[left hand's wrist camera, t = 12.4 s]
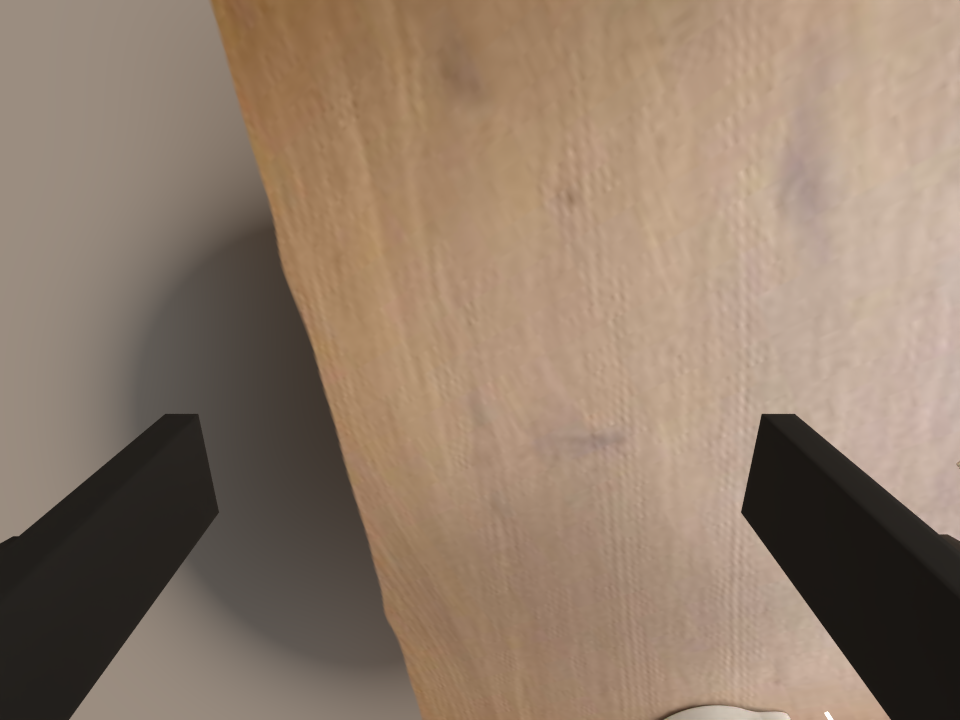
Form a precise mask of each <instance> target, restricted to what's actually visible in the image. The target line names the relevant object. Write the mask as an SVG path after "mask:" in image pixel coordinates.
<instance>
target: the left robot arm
mask: <svg viewBox="0 0 960 720" xmlns="http://www.w3.org/2000/svg"><path fill="white" fill-rule="evenodd" d="M218 513H219V511H218V506H217V501H216V496H215V492H214V487H213V482H212V477H211V473H210V468H209V463H208V458H207V454H206V449H205V444H204V439H203V435H202V430H201V425H200V420H199V415H198V414H165V415H164V416H162V417H161V418H160V419H159V420H158V421H156V422H155V423H154V424H153V425H152V426H150V427H149V428H148V429H147V430H146V431H144V432H143V433H142V434H141V435H140V436H138V437H137V438H136V439H135V440H134V441H132V442H131V443H130V444H129V445H128V446H126V447H125V448H124V449H123V450H122V451H120V452H119V453H118V454H117V455H116V456H114V457H113V458H112V459H111V460H110V461H109V462H107V463H106V464H105V465H104V466H102V467H101V468H100V469H99V470H98V471H97V472H95V473H94V474H93V475H92V476H91V477H89V478H88V479H87V480H86V481H85V482H83V483H82V484H81V485H80V486H79V487H77V488H76V489H75V490H74V491H73V492H71V493H70V494H69V495H68V496H67V497H65V498H64V499H63V500H62V501H61V502H59V503H58V504H57V505H56V506H55V507H53V508H52V509H51V510H50V511H49V512H47V513H46V514H45V515H44V516H43V517H41V518H40V519H39V520H38V521H37V522H35V523H34V524H33V525H32V526H31V527H29V528H28V529H27V530H26V531H25V532H23V533H22V534H21V535H20V536H13V537H11V538H9V539H8V540H6V541H4V542H2V543H0V720H69V719H70V717H71V716H72V715H73V713H74V712H75V711H76V709H77V708H78V706H79V705H80V704H81V702H82V701H83V700H84V698H85V697H86V695H87V694H88V693H89V691H90V690H91V689H92V687H93V686H94V684H95V683H96V682H97V680H98V679H99V677H100V676H101V675H102V673H103V672H104V671H105V669H106V668H107V666H108V665H109V664H110V662H111V661H112V659H113V658H114V657H115V655H116V654H117V653H118V651H119V650H120V648H121V647H122V646H123V644H124V643H125V641H126V640H127V639H128V637H129V636H130V635H131V633H132V632H133V630H134V629H135V628H136V626H137V625H138V624H139V622H140V621H141V619H142V618H143V617H144V615H145V614H146V612H147V611H148V610H149V608H150V607H151V605H152V604H153V603H154V601H155V600H156V599H157V597H158V596H159V594H160V593H161V592H162V590H163V589H164V588H165V586H166V585H167V583H168V582H169V581H170V579H171V578H172V576H173V575H174V574H175V572H176V571H177V570H178V568H179V567H180V565H181V564H182V563H183V561H184V560H185V559H186V557H187V556H188V554H189V553H190V552H191V550H192V549H193V547H194V546H195V545H196V543H197V542H198V541H199V539H200V538H201V536H202V535H203V534H204V532H205V531H206V529H207V528H208V527H209V525H210V524H211V522H212V521H213V520H214V518H215V517H216V516H217V514H218ZM741 513H742V514H743V516H744V517H745V518H746V520H747V521H748V523H749V524H750V525H751V527H752V528H753V529H754V531H755V532H756V534H757V535H758V536H759V538H760V539H761V541H762V542H763V543H764V545H765V546H766V547H767V549H768V550H769V552H770V553H771V554H772V556H773V557H774V559H775V560H776V561H777V563H778V564H779V565H780V567H781V568H782V570H783V571H784V572H785V574H786V575H787V576H788V578H789V579H790V581H791V582H792V583H793V585H794V586H795V588H796V589H797V590H798V592H799V593H800V594H801V596H802V597H803V599H804V600H805V601H806V603H807V604H808V606H809V607H810V608H811V610H812V611H813V612H814V614H815V615H816V617H817V618H818V619H819V621H820V622H821V624H822V625H823V626H824V628H825V629H826V630H827V632H828V633H829V635H830V636H831V637H832V639H833V640H834V641H835V643H836V644H837V646H838V647H839V648H840V650H841V651H842V653H843V654H844V655H845V657H846V658H847V659H848V661H849V662H850V664H851V665H852V666H853V668H854V669H855V671H856V672H857V673H858V675H859V676H860V677H861V679H862V680H863V682H864V683H865V684H866V686H867V687H868V689H869V690H870V691H871V693H872V694H873V695H874V697H875V698H876V700H877V701H878V702H879V704H880V705H881V706H882V708H883V709H884V711H885V712H886V713H887V715H888V716H889V718H890V719H891V720H960V541H958V540H957V539H955V538H953V537H951V536H949V535H939V534H938V533H937V532H935V531H934V530H933V529H932V528H931V527H929V526H928V525H927V524H926V523H925V522H923V521H922V520H921V519H920V518H919V517H917V516H916V515H915V514H914V513H913V512H911V511H910V510H909V509H908V508H907V507H905V506H904V505H903V504H902V503H901V502H899V501H898V500H897V499H896V498H895V497H893V496H892V495H891V494H890V493H889V492H887V491H886V490H885V489H884V488H883V487H881V486H880V485H879V484H878V483H877V482H876V481H874V480H873V479H872V478H871V477H870V476H868V475H867V474H866V473H865V472H864V471H862V470H861V469H860V468H859V467H858V466H856V465H855V464H854V463H853V462H852V461H850V460H849V459H848V458H847V457H846V456H844V455H843V454H842V453H841V452H840V451H838V450H837V449H836V448H835V447H834V446H832V445H831V444H830V443H829V442H828V441H826V440H825V439H824V438H823V437H822V436H820V435H819V434H818V433H817V432H816V431H814V430H813V429H812V428H811V427H810V426H808V425H807V424H806V423H805V422H804V421H802V420H801V419H800V418H799V417H798V416H796V415H795V414H762V415H761V420H760V425H759V430H758V435H757V439H756V444H755V449H754V454H753V458H752V463H751V468H750V473H749V477H748V482H747V487H746V492H745V496H744V501H743V506H742V511H741Z"/></svg>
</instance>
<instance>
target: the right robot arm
mask: <svg viewBox="0 0 960 720" xmlns="http://www.w3.org/2000/svg"><path fill="white" fill-rule="evenodd" d="M825 714H826V716H827V718H828V719H829V720H833V719H832V717H831V716H830V714H829V713H828V712H826V713H825ZM664 720H791V719H790V717H789V715H788V714H786V713H784V712H777V711H770V712H754V711H749V710H746V709H742V708H738V707H733V706H725V705H710V706H701V707H695V708H691V709H687V710H684V711H681V712H678V713H676V714H673V715H671V716H669V717H667V718H666V719H664Z"/></svg>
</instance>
